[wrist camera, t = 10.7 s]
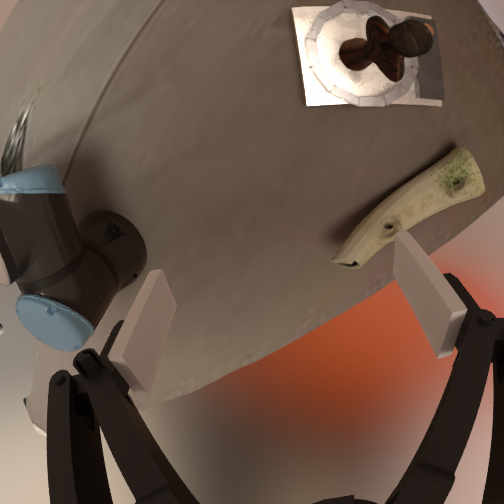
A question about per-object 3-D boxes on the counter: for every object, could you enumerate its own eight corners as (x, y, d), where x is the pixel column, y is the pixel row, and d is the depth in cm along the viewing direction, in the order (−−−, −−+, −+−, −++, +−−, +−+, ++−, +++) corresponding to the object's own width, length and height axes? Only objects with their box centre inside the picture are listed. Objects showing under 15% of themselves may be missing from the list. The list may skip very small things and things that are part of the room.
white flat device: (304, 106, 39) (309, 108, 33) (289, 13, 32) (292, 1, 26) (429, 105, 36) (450, 109, 31) (419, 19, 29) (439, 12, 24)
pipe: (451, 136, 38) (486, 151, 30) (470, 176, 41) (502, 197, 32) (320, 232, 49) (329, 265, 40) (346, 265, 52) (359, 301, 43)
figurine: (384, 78, 32) (457, 78, 17) (351, 87, 33) (408, 89, 18) (363, 28, 29) (424, -5, 13) (329, 37, 30) (372, 1, 15)
